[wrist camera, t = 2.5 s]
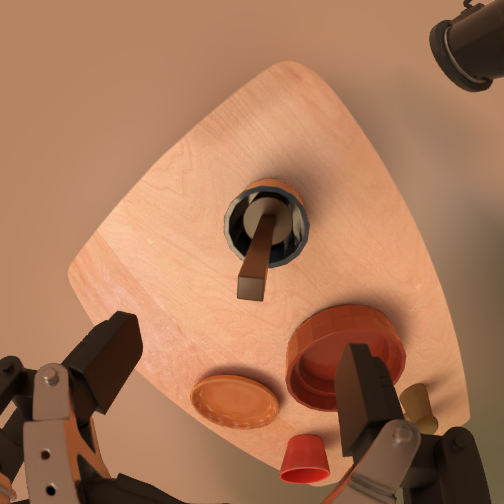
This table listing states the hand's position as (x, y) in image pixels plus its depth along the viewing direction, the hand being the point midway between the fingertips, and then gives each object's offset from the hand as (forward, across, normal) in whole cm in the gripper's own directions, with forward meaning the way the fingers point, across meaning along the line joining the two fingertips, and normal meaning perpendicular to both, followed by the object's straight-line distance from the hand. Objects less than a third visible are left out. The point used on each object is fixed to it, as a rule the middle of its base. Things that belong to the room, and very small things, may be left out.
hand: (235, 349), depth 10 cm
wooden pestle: (+24, 0, 0) cm, 24 cm away
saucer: (+25, +3, +34) cm, 42 cm away
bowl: (+24, -13, +20) cm, 34 cm away
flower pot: (+25, -13, +50) cm, 57 cm away
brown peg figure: (+24, -32, +32) cm, 51 cm away
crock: (+24, 0, 0) cm, 24 cm away
